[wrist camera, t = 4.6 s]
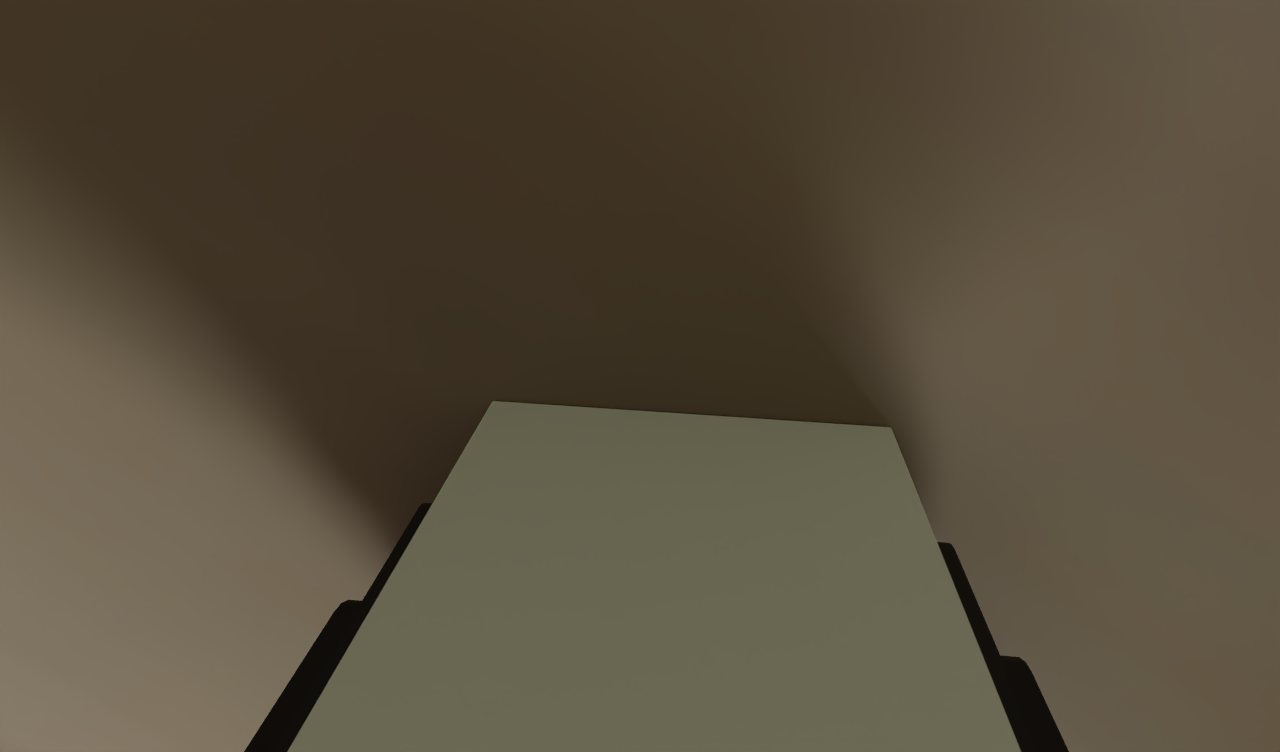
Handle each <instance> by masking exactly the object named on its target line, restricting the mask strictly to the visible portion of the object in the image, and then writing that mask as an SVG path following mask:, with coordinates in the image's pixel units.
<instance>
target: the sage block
mask: <svg viewBox="0 0 1280 752" xmlns="http://www.w3.org/2000/svg"><path fill="white" fill-rule="evenodd" d="M288 752H1021V750H1020V748H1019V745H1018V743H1017V740H1016V738H1015V735H1014V733H1013V730H1012V728H1011V725H1010V723H1009V720H1008V718H1007V715H1006V713H1005V710H1004V708H1003V705H1002V703H1001V700H1000V698H999V695H998V693H997V690H996V688H995V685H994V683H993V680H992V678H991V675H990V673H989V670H988V668H987V665H986V663H985V660H984V658H983V655H982V653H981V650H980V648H979V645H978V643H977V640H976V638H975V635H974V633H973V630H972V628H971V625H970V623H969V620H968V618H967V615H966V613H965V610H964V608H963V605H962V603H961V600H960V598H959V596H958V593H957V591H956V588H955V586H954V583H953V581H952V578H951V576H950V573H949V571H948V568H947V566H946V563H945V561H944V558H943V556H942V553H941V551H940V548H939V546H938V543H937V541H936V538H935V536H934V533H933V531H932V528H931V526H930V523H929V521H928V518H927V516H926V513H925V511H924V508H923V506H922V503H921V501H920V498H919V496H918V493H917V491H916V488H915V486H914V483H913V481H912V478H911V476H910V473H909V471H908V468H907V466H906V463H905V461H904V458H903V456H902V453H901V451H900V448H899V446H898V443H897V441H896V438H895V436H894V433H893V431H892V428H891V427H878V426H863V425H848V424H833V423H817V422H802V421H787V420H772V419H757V418H742V417H727V416H712V415H696V414H681V413H666V412H651V411H636V410H621V409H606V408H591V407H575V406H560V405H545V404H530V403H515V402H500V401H492V403H491V404H490V406H489V408H488V410H487V411H486V413H485V415H484V416H483V418H482V420H481V421H480V423H479V425H478V427H477V428H476V430H475V432H474V433H473V435H472V437H471V439H470V440H469V442H468V444H467V445H466V447H465V449H464V451H463V452H462V454H461V456H460V457H459V459H458V461H457V463H456V464H455V466H454V468H453V469H452V471H451V473H450V475H449V476H448V478H447V480H446V481H445V483H444V485H443V486H442V488H441V490H440V492H439V493H438V495H437V497H436V498H435V500H434V502H433V504H432V505H431V507H430V509H429V510H428V512H427V514H426V516H425V517H424V519H423V521H422V522H421V524H420V526H419V528H418V529H417V531H416V533H415V534H414V536H413V538H412V540H411V541H410V543H409V545H408V546H407V548H406V550H405V551H404V553H403V555H402V557H401V558H400V560H399V562H398V563H397V565H396V567H395V569H394V570H393V572H392V574H391V575H390V577H389V579H388V581H387V582H386V584H385V586H384V587H383V589H382V591H381V593H380V594H379V596H378V598H377V599H376V601H375V603H374V605H373V606H372V608H371V610H370V611H369V613H368V615H367V616H366V618H365V620H364V622H363V623H362V625H361V627H360V628H359V630H358V632H357V634H356V635H355V637H354V639H353V640H352V642H351V644H350V646H349V647H348V649H347V651H346V652H345V654H344V656H343V658H342V659H341V661H340V663H339V664H338V666H337V668H336V670H335V671H334V673H333V675H332V676H331V678H330V680H329V681H328V683H327V685H326V687H325V688H324V690H323V692H322V693H321V695H320V697H319V699H318V700H317V702H316V704H315V705H314V707H313V709H312V711H311V712H310V714H309V716H308V717H307V719H306V721H305V723H304V724H303V726H302V728H301V729H300V731H299V733H298V735H297V736H296V738H295V740H294V741H293V743H292V745H291V746H290V748H289V750H288Z"/></svg>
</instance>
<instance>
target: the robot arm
mask: <svg viewBox="0 0 1280 752" xmlns="http://www.w3.org/2000/svg"><path fill="white" fill-rule="evenodd" d="M432 504H433V503H423V504H422V505H421V506H420V507H419V508H418V510H417V512H416V513H415V515H414V517H413V518H412V520H411V521H410V523H409V525H408V526H407V528H406V530H405V531H404V533H403V535H402V536H401V538H400V540H399V541H398V543H397V544H396V546H395V548H394V549H393V551H392V553H391V554H390V556H389V558H388V559H387V561H386V563H385V564H384V566H383V568H382V569H381V571H380V572H379V574H378V576H377V577H376V579H375V581H374V582H373V584H372V586H371V587H370V589H369V591H368V592H367V594H366V596H365V597H364V599H363V600H362V601H356V600H347V601H345V602H343V603H341V604H340V605H339V607H338V608H337V609H336V610H335V611H334V613H333V614H332V616H331V618H330V619H329V621H328V622H327V624H326V625H325V627H324V628H323V630H322V632H321V633H320V635H319V636H318V638H317V639H316V641H315V642H314V644H313V646H312V647H311V649H310V650H309V652H308V653H307V655H306V656H305V658H304V660H303V661H302V663H301V664H300V666H299V667H298V669H297V670H296V672H295V674H294V675H293V677H292V678H291V680H290V681H289V683H288V684H287V686H286V688H285V689H284V691H283V692H282V694H281V695H280V697H279V698H278V700H277V702H276V703H275V705H274V706H273V708H272V709H271V711H270V712H269V714H268V716H267V717H266V719H265V720H264V722H263V723H262V725H261V726H260V728H259V730H258V731H257V733H256V734H255V736H254V737H253V739H252V740H251V742H250V744H249V745H248V747H247V748H246V750H245V751H244V752H288V750H289V748H290V746H291V745H292V743H293V741H294V740H295V738H296V736H297V735H298V733H299V731H300V729H301V728H302V726H303V724H304V723H305V721H306V719H307V717H308V716H309V714H310V712H311V711H312V709H313V707H314V705H315V704H316V702H317V700H318V699H319V697H320V695H321V693H322V692H323V690H324V688H325V687H326V685H327V683H328V681H329V680H330V678H331V676H332V675H333V673H334V671H335V670H336V668H337V666H338V664H339V663H340V661H341V659H342V658H343V656H344V654H345V652H346V651H347V649H348V647H349V646H350V644H351V642H352V640H353V639H354V637H355V635H356V634H357V632H358V630H359V628H360V627H361V625H362V623H363V622H364V620H365V618H366V616H367V615H368V613H369V611H370V610H371V608H372V606H373V605H374V603H375V601H376V599H377V598H378V596H379V594H380V593H381V591H382V589H383V587H384V586H385V584H386V582H387V581H388V579H389V577H390V575H391V574H392V572H393V570H394V569H395V567H396V565H397V563H398V562H399V560H400V558H401V557H402V555H403V553H404V551H405V550H406V548H407V546H408V545H409V543H410V541H411V540H412V538H413V536H414V534H415V533H416V531H417V529H418V528H419V526H420V524H421V522H422V521H423V519H424V517H425V516H426V514H427V512H428V510H429V509H430V507H431V505H432ZM937 543H938V546H939V548H940V551H941V553H942V556H943V558H944V561H945V563H946V566H947V568H948V571H949V573H950V576H951V578H952V581H953V583H954V586H955V588H956V591H957V593H958V596H959V598H960V600H961V603H962V605H963V608H964V610H965V613H966V615H967V618H968V620H969V623H970V625H971V628H972V630H973V633H974V635H975V638H976V640H977V643H978V645H979V648H980V650H981V653H982V655H983V658H984V660H985V663H986V665H987V668H988V670H989V673H990V675H991V678H992V680H993V683H994V685H995V688H996V690H997V693H998V695H999V698H1000V700H1001V703H1002V705H1003V708H1004V710H1005V713H1006V715H1007V718H1008V720H1009V723H1010V725H1011V728H1012V730H1013V733H1014V735H1015V738H1016V740H1017V743H1018V745H1019V748H1020V750H1021V752H1069V751H1068V749H1067V747H1066V745H1065V743H1064V741H1063V738H1062V736H1061V734H1060V732H1059V730H1058V728H1057V725H1056V723H1055V721H1054V719H1053V717H1052V715H1051V713H1050V710H1049V708H1048V706H1047V704H1046V702H1045V700H1044V697H1043V695H1042V693H1041V691H1040V689H1039V687H1038V685H1037V682H1036V680H1035V678H1034V676H1033V674H1032V672H1031V670H1030V669H1029V667H1028V665H1027V664H1026V662H1025V661H1023V660H1022V659H1021V658H1019V657H1010V656H1000V654H999V652H998V649H997V647H996V645H995V642H994V640H993V638H992V635H991V633H990V631H989V628H988V626H987V624H986V621H985V619H984V617H983V614H982V612H981V610H980V607H979V605H978V603H977V600H976V598H975V596H974V593H973V591H972V589H971V586H970V584H969V582H968V579H967V577H966V575H965V572H964V570H963V568H962V565H961V563H960V561H959V558H958V556H957V554H956V551H955V549H954V547H953V546H952V544H950V543H942V542H937Z"/></svg>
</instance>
